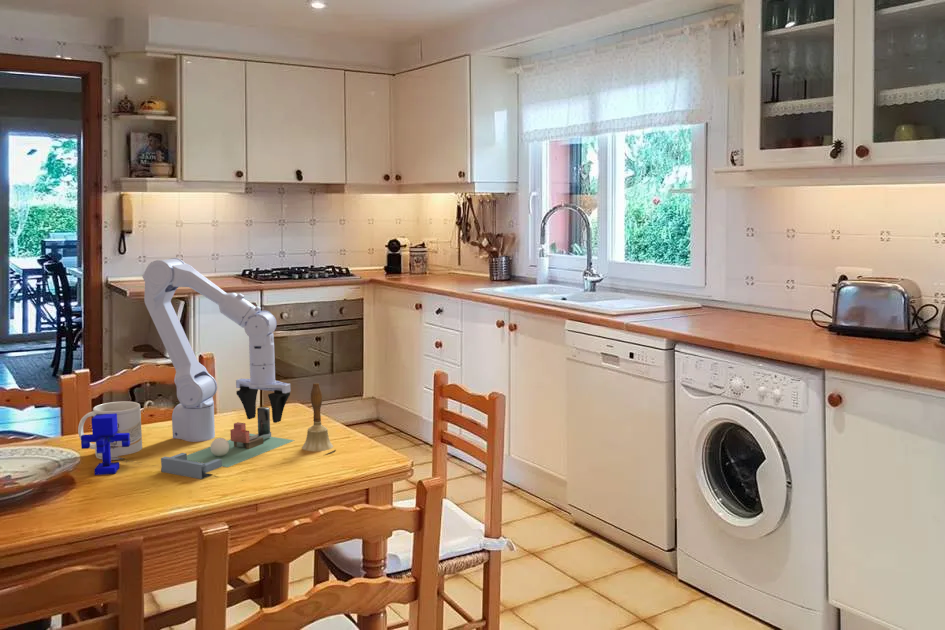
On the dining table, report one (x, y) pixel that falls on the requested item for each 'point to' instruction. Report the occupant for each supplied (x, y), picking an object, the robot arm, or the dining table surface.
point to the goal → (188, 466)
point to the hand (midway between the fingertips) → (264, 420)
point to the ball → (219, 447)
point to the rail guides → (252, 443)
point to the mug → (119, 426)
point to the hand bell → (317, 426)
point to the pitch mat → (237, 452)
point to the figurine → (105, 441)
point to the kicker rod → (242, 434)
